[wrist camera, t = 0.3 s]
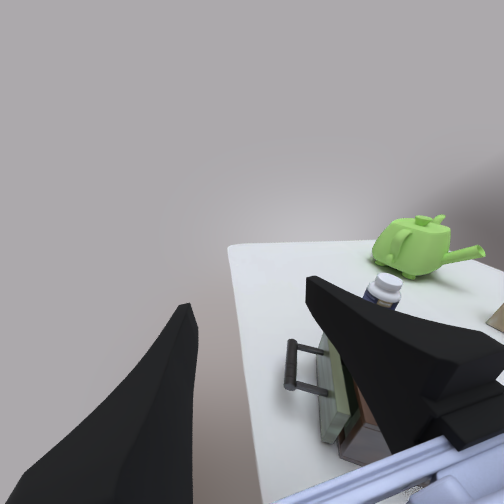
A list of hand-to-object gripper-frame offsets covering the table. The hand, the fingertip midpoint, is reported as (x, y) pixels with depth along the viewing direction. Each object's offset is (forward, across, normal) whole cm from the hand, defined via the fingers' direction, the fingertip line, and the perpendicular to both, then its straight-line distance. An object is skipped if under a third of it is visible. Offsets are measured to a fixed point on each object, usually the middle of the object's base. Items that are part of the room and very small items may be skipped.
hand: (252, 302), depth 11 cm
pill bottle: (+14, -26, +24) cm, 38 cm away
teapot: (+28, -53, +27) cm, 66 cm away
